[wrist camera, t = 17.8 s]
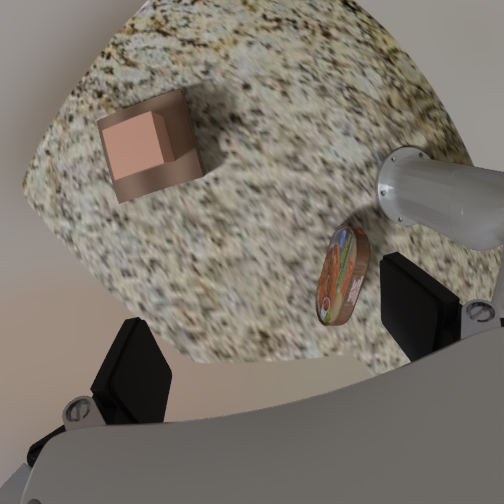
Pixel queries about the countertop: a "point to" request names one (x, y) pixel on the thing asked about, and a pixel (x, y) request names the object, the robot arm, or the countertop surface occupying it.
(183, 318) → the countertop surface
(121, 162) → the cube
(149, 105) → the base
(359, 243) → the tin
